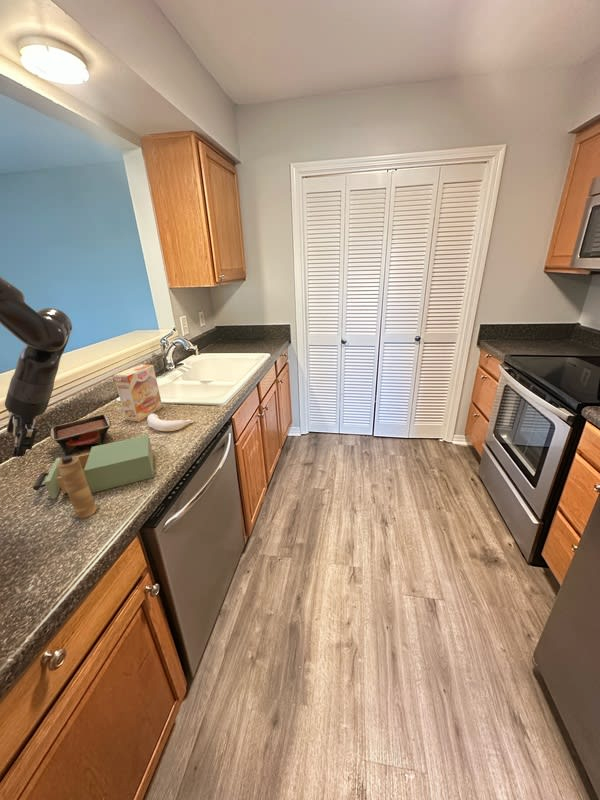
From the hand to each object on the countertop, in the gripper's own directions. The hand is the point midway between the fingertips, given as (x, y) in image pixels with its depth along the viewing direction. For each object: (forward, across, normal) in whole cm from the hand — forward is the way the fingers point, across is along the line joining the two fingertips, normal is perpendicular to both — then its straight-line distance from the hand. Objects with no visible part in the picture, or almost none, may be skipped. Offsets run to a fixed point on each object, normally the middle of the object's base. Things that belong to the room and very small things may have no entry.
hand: (15, 443), depth 79 cm
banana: (+7, -13, +49) cm, 51 cm away
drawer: (+11, +5, +15) cm, 20 cm away
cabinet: (+6, +8, +25) cm, 27 cm away
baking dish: (+20, -19, +25) cm, 37 cm away
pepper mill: (+6, +19, +12) cm, 24 cm away
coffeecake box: (+15, -30, +49) cm, 59 cm away
